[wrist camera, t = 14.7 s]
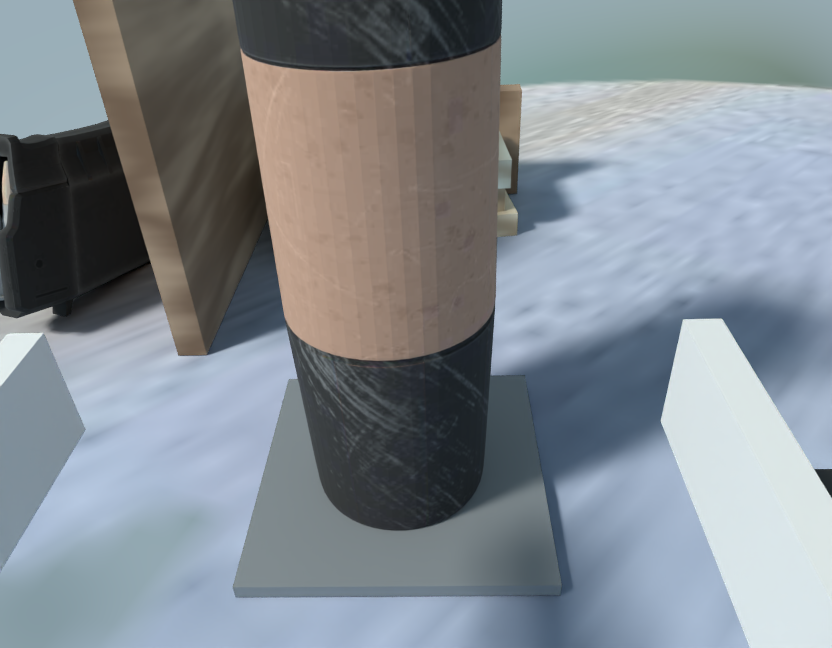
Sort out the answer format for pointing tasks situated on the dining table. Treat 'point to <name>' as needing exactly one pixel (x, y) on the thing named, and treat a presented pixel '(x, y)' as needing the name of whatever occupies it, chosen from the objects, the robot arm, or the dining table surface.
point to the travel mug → (383, 236)
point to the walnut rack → (194, 147)
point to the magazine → (63, 219)
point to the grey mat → (404, 549)
